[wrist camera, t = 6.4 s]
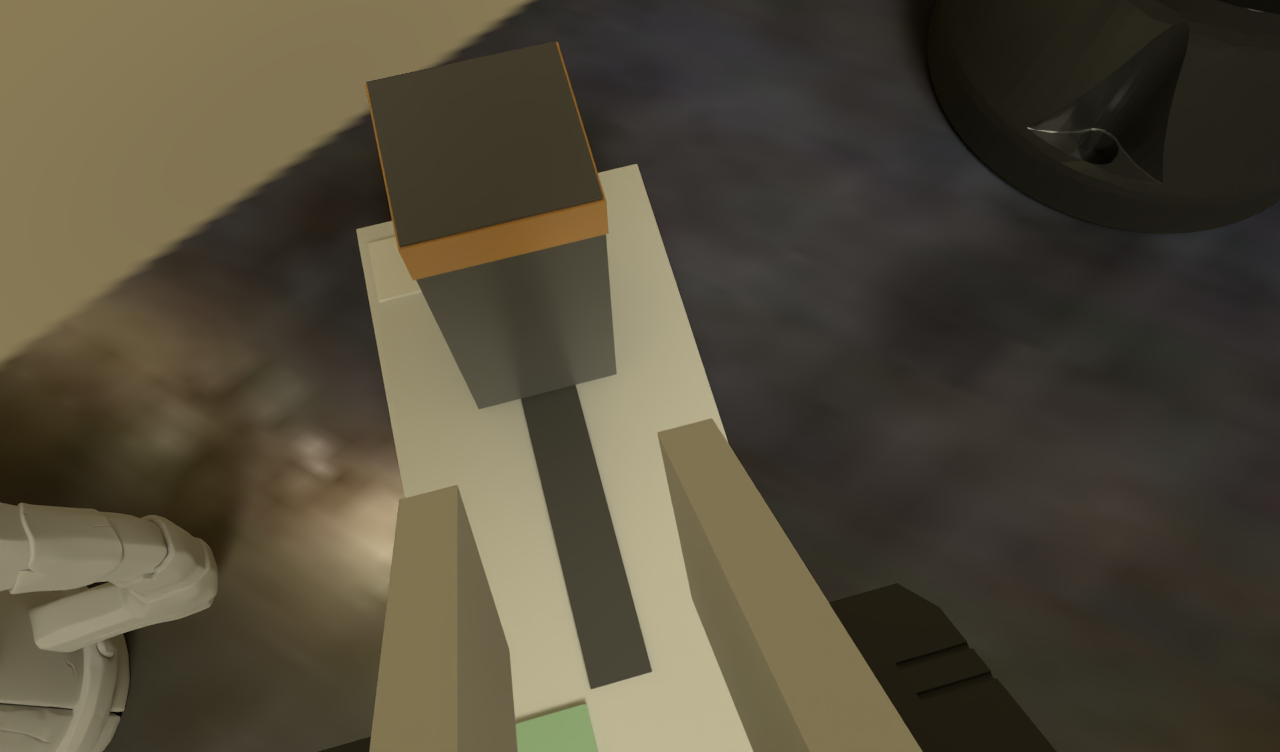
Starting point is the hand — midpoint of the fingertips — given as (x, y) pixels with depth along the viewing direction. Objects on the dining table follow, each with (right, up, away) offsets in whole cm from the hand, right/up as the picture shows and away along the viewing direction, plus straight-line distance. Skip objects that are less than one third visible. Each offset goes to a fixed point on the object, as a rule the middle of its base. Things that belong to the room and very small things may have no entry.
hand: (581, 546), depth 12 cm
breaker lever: (-2, +4, +14) cm, 15 cm away
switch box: (-1, -2, +17) cm, 17 cm away
